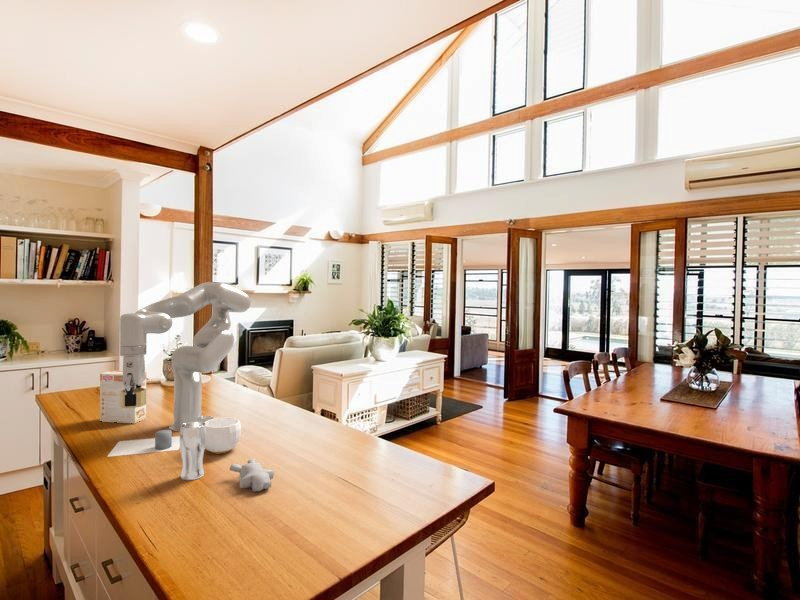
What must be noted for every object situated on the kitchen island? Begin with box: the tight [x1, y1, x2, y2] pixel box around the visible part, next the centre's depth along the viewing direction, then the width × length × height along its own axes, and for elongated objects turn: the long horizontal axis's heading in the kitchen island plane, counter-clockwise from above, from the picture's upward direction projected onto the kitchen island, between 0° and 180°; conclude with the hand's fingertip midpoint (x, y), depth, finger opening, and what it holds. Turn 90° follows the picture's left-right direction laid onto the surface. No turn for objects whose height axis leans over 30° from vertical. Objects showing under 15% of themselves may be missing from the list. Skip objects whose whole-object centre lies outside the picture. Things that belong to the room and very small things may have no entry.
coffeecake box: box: [99, 370, 147, 424], centre depth 171 cm, size 15×7×20 cm, turn 84°
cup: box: [205, 416, 242, 455], centre depth 143 cm, size 12×12×10 cm
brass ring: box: [120, 388, 147, 408], centre depth 143 cm, size 7×7×5 cm
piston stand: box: [106, 429, 180, 458], centre depth 143 cm, size 20×14×6 cm
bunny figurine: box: [229, 458, 275, 493], centre depth 121 cm, size 10×5×15 cm
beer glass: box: [179, 421, 206, 481], centre depth 124 cm, size 7×7×15 cm
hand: (133, 402), depth 143 cm, fingers closed on brass ring, 7 cm apart
